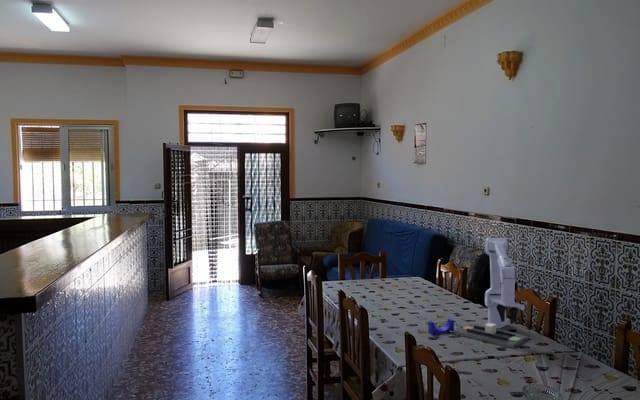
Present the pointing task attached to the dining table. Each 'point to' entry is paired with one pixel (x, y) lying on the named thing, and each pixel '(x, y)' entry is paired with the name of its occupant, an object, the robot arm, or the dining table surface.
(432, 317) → the dining table surface
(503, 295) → the robot arm
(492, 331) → the switch handle
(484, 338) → the breaker panel
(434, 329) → the cable clip
